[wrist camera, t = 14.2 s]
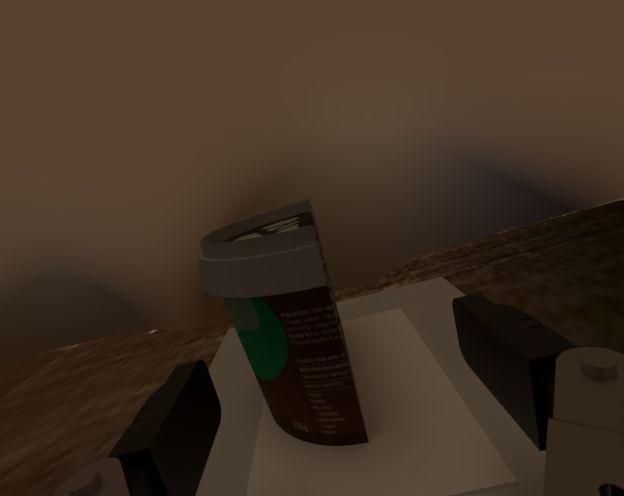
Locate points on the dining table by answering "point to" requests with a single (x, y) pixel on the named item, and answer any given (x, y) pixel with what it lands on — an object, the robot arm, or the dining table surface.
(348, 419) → the food container
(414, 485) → the dock
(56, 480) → the dining table surface
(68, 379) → the dining table surface
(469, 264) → the dining table surface
